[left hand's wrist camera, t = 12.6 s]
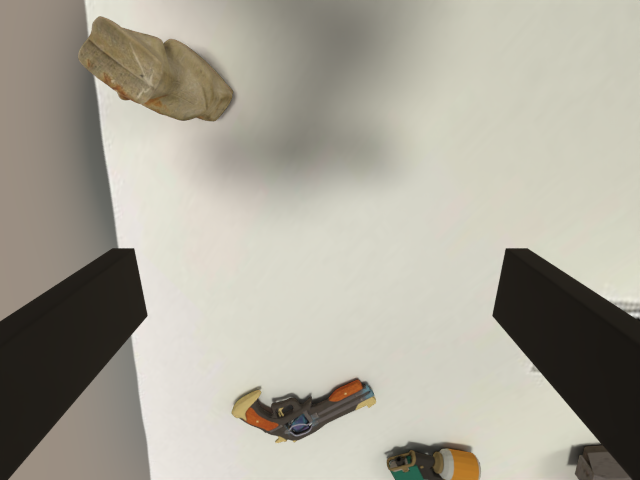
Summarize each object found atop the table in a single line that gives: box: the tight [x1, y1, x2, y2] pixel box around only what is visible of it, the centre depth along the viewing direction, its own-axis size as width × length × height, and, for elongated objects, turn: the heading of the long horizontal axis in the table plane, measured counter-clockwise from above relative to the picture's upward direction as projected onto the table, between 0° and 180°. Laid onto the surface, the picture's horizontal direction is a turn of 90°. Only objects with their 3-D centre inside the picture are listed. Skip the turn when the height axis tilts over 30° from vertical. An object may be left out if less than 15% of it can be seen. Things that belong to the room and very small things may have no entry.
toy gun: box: [232, 380, 376, 443], centre depth 49 cm, size 3×19×10 cm
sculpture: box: [78, 16, 233, 121], centre depth 29 cm, size 6×7×15 cm
